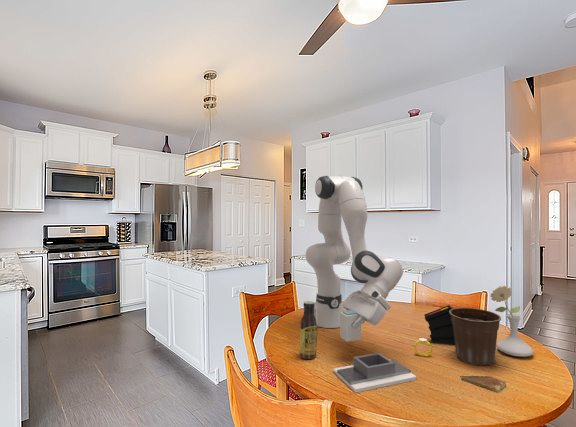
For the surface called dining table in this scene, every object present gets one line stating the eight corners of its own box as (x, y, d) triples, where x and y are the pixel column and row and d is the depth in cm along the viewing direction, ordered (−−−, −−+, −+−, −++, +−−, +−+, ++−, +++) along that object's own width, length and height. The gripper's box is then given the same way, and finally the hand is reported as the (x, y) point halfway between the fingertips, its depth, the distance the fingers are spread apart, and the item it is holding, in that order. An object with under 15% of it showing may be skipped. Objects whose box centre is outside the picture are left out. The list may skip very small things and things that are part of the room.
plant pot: (502, 373, 107) (501, 323, 107) (447, 362, 115) (446, 316, 115) (501, 355, 120) (500, 311, 121) (452, 346, 129) (451, 305, 129)
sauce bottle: (305, 361, 117) (304, 305, 117) (296, 355, 123) (296, 301, 123) (320, 357, 120) (320, 303, 120) (311, 351, 126) (311, 299, 126)
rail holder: (333, 371, 109) (333, 356, 109) (389, 361, 116) (388, 347, 116) (355, 392, 96) (355, 375, 96) (416, 379, 103) (416, 363, 103)
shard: (459, 380, 103) (459, 375, 103) (469, 373, 108) (469, 367, 108) (498, 394, 95) (498, 388, 95) (507, 386, 100) (507, 380, 100)
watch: (415, 356, 121) (413, 340, 121) (414, 353, 123) (413, 337, 124) (433, 357, 119) (431, 340, 119) (432, 354, 122) (430, 338, 122)
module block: (340, 337, 121) (340, 310, 121) (354, 335, 123) (354, 309, 123) (346, 341, 117) (346, 314, 117) (361, 339, 119) (361, 312, 119)
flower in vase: (527, 349, 126) (525, 283, 126) (538, 361, 115) (537, 290, 115) (488, 345, 130) (486, 282, 130) (495, 356, 119) (494, 287, 119)
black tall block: (470, 342, 129) (451, 306, 131) (437, 353, 132) (420, 318, 134) (468, 339, 132) (450, 304, 134) (436, 350, 136) (419, 316, 137)
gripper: (352, 284, 132) (330, 311, 129) (383, 296, 112) (358, 328, 109) (362, 294, 133) (340, 321, 130) (394, 308, 114) (370, 340, 111)
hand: (349, 324), depth 119 cm, fingers closed on module block, 4 cm apart
